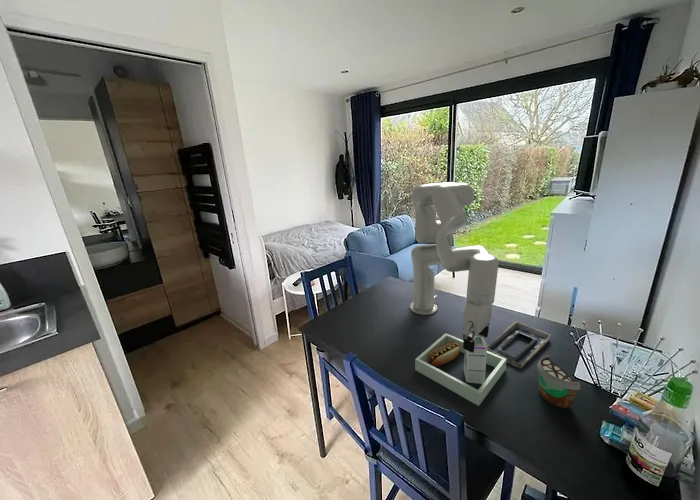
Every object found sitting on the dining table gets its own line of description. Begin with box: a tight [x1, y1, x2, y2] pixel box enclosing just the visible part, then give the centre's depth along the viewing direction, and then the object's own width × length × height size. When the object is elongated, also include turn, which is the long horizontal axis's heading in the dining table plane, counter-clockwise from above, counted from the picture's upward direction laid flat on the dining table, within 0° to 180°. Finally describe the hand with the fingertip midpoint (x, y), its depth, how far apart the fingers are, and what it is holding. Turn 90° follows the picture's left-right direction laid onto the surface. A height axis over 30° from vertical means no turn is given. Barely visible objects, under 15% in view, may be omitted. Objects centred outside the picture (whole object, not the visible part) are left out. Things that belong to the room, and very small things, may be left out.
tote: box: [414, 333, 507, 407], centre depth 97 cm, size 20×22×4 cm
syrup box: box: [462, 333, 488, 385], centre depth 92 cm, size 6×6×14 cm
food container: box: [536, 354, 581, 409], centre depth 84 cm, size 12×6×10 cm, turn 5°
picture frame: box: [487, 320, 551, 369], centre depth 107 cm, size 13×25×3 cm, turn 128°
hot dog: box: [428, 343, 461, 367], centre depth 102 cm, size 5×13×5 cm, turn 120°
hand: (475, 342), depth 91 cm, fingers open, 9 cm apart
